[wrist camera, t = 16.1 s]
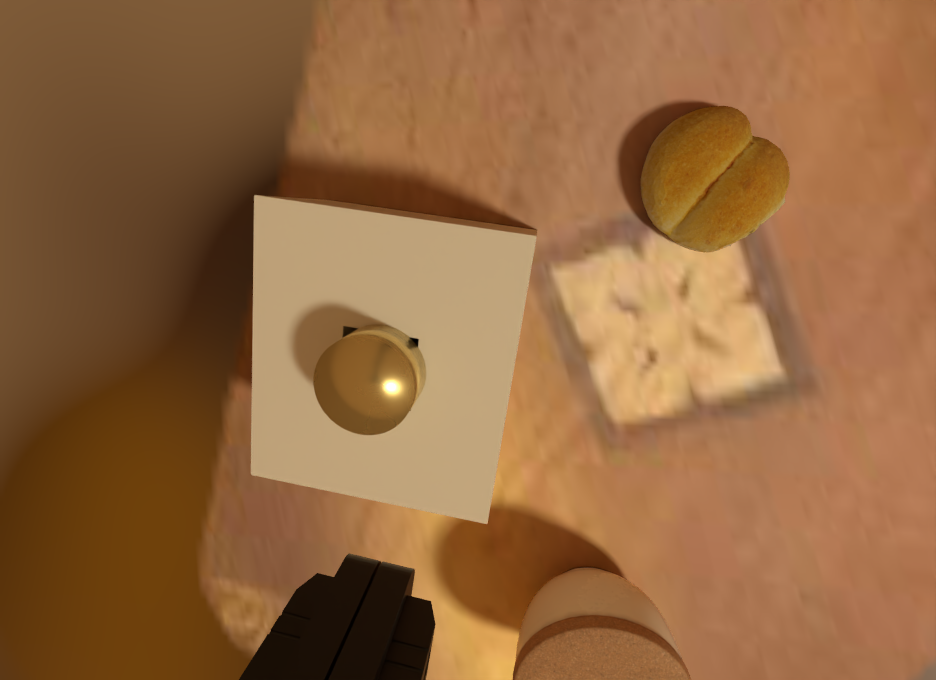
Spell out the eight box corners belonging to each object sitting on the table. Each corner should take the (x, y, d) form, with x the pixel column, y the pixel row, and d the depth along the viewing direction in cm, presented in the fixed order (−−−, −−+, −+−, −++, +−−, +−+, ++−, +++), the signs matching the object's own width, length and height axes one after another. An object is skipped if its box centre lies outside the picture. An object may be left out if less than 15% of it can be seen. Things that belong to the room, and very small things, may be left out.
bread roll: (702, 86, 31) (725, 68, 27) (797, 180, 32) (832, 175, 28) (609, 185, 34) (618, 181, 30) (699, 271, 34) (719, 278, 30)
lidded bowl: (512, 539, 42) (503, 649, 31) (663, 540, 40) (708, 658, 29) (522, 655, 45) (517, 791, 34) (663, 662, 43) (704, 808, 32)
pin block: (328, 199, 36) (254, 195, 27) (537, 229, 35) (536, 236, 25) (317, 414, 41) (250, 474, 32) (499, 449, 40) (487, 524, 30)
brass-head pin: (385, 292, 37) (315, 329, 25) (457, 304, 36) (418, 346, 25) (379, 361, 38) (311, 425, 27) (447, 373, 38) (408, 443, 26)
